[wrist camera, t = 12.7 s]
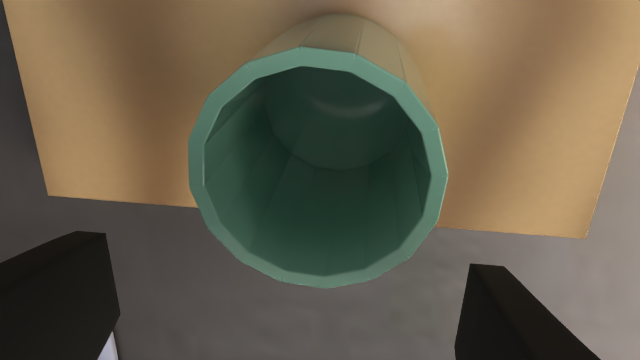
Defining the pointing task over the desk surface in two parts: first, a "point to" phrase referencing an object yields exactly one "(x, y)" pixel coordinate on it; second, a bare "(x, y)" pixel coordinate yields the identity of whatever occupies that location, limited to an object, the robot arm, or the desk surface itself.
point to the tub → (320, 155)
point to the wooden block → (371, 3)
